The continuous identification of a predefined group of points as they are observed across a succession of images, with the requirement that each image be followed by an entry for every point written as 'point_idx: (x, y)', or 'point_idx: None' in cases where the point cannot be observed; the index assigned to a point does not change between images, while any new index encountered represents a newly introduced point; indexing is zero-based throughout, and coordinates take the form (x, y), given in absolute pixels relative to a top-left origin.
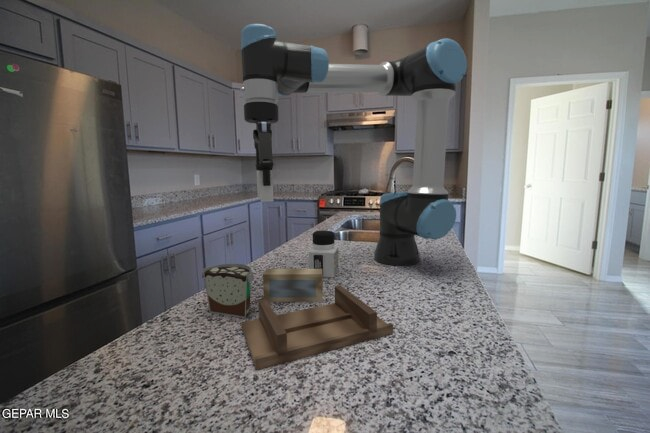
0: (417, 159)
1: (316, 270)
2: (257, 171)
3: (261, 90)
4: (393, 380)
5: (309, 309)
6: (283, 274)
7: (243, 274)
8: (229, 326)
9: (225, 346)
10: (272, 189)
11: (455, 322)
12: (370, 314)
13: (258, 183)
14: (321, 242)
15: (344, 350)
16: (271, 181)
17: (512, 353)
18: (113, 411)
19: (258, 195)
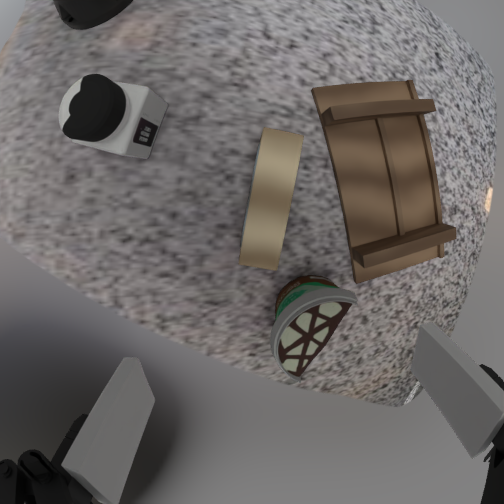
0: None
1: (275, 143)
2: (115, 500)
3: None
4: (467, 130)
5: (341, 175)
6: (286, 224)
7: (334, 310)
8: None
9: (392, 292)
10: (460, 351)
11: (382, 8)
12: (435, 109)
13: (133, 444)
14: (120, 113)
15: None
16: (481, 375)
17: (434, 15)
18: None
19: (151, 401)
